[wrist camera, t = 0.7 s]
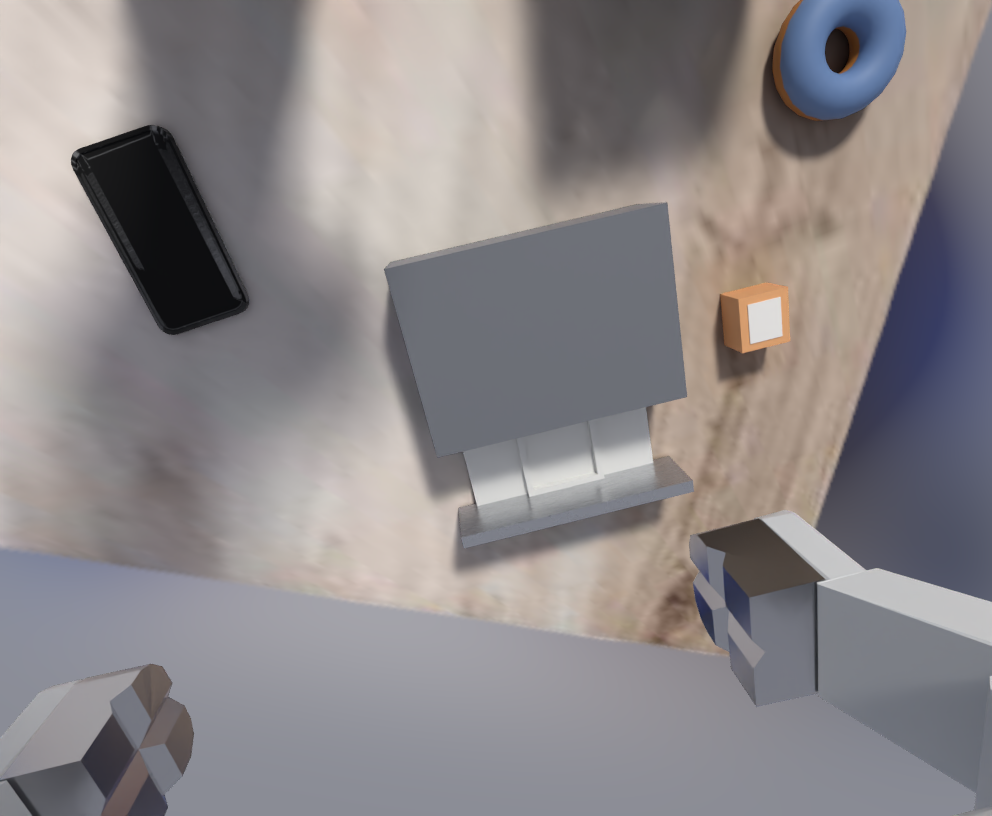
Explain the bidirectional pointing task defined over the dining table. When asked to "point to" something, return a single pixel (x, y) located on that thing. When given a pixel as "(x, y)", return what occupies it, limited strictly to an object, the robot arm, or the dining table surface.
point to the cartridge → (755, 317)
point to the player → (542, 327)
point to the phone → (161, 228)
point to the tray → (565, 477)
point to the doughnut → (871, 65)
